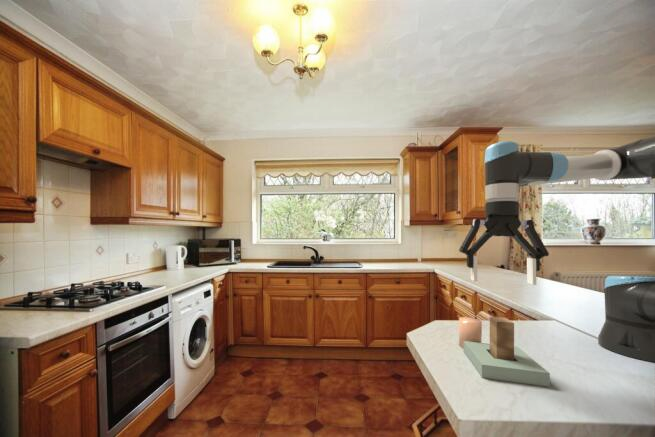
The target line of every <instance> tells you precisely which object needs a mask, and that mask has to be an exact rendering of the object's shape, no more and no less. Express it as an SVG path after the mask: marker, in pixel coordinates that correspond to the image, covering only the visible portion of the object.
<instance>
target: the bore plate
mask: <svg viewBox="0 0 655 437" xmlns="http://www.w3.org/2000/svg"><path fill="white" fill-rule="evenodd" d="M463 353H464V355H465V356H466V358H468V361H469V362H470V363H471V364H472V366H473V367H474V369H475V370H476V372H477V373H478V374H479V375H480V377H481V378H483V379H490V380H496V381H503V382H504V381H505V382H512V383H518V384H527V385H535V386H542V387H549V388H550V387H551V382H550V381H551V378H550V377H551V373H550V372H549V371H548V370H547V369H545V368H544V367H543V366H542V365H541V364H540V363H538V362H537V361H536V360H535V359H534V358H532V357H531V356H529V355H528V354H527V353H526V352H525V351H524V350H522V349H521V348H520V347H518V346H514V361H510V360H502V359H494V358H493V357H492V356H491V354H490V343H483V342H482V343H477V342H468V341H464V349H463Z"/></svg>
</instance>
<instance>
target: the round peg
mask: <svg viewBox="0 0 655 437" xmlns="http://www.w3.org/2000/svg"><path fill="white" fill-rule="evenodd" d="M482 322H483V321H482V320H479V319H478V318H474V317H468V316H461V317H459V318H458V325H459V326H458V346H459V347H460V348H461V349H462V350H464V341H468V342H477V343H483V342H482V341H483V338H482V336H483V332H482V330H483V327H482V326H483V323H482Z"/></svg>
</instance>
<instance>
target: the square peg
mask: <svg viewBox="0 0 655 437" xmlns="http://www.w3.org/2000/svg"><path fill="white" fill-rule="evenodd" d="M489 344H490V354H491V356H492V357H493V358H494V359H502V360H510V361H514V347H515V323H514V322H513V321H512V320H510V319H508V318H507V317H499V316H489Z"/></svg>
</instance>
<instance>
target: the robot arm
mask: <svg viewBox="0 0 655 437" xmlns="http://www.w3.org/2000/svg"><path fill="white" fill-rule="evenodd" d="M483 164H484V188H485V190H484V195H485V196H484V198H485V201H486V203H484V213H485V214H484V216H485V217H484V219H479V218H475V219H474V218H473V219H472V222H471V227H470V230H469V231H468V233H467V235H466V236H465V238H464V240H463V242H462V243H461V245H460V247H459V250H458V251H459V252H460V253H462V254H464V255H466V267H467V268H470V280H471V281H473V282H478V256H477V255H475V254H476V253H477V252H478V251H479V250H480V249H481V248H482V247H483V246H484V245H485V244H486V243H487V242H488V240H490V239H491V238H492V237H509V238H510V237H511V238H512V239H514V241H515V242H516V243H517V244H518V245H519V246H520V247H521V248H522V249H523V250H524V252H526V254H528V255H529V257H526V283H527V284H530V285H535V286H537V272H540V270H541V266H540V265H541V264H540V263H541V261H540V260H542V259H543V258H544V257H548V256H550V254H549V251H548V250H547V248H546V246H545V244H544V242H543V241H542V238H541V237H540V235H539V234H538V232H537V230H536V229H535V223H534V222H535V221H534V220H533V219H525V220H520V218H519V217H520V203H519V201H518V200H519V199H520V188H522V187H523V188H524V187H529V186H538V185H546V184H547V185H548V184H557V183H563V182H572V181H573V182H574V181H580V180H581V181H582V180H590V179H596V180H598V181H610V180H625V179H626V180H629V179H630V180H631V179H646V178H650V180H651V182H652V183H654V184H655V135H652V136H649V137H645V138H642V139H638V140H636V141H632V142H630V143H629V142H628V143H627V144H622V145H620V146H617V147H613V148H609V149H602V150H599V151H596V152H595V153H594V154H585V155H577V156H568V157H567V156H566V155H565V154H563V153H561V152H560V153H559V152H552V151H546V152H544V151H542V152H540V151H539V152H538V151H521V150H520V148H519V144H518V143H517V142H515V141H512V140H511V141H509V140H508V141H499V142H496V143H492V144H490V145H489V146H488V147H487V148H486V149H485V153H484V163H483ZM483 226H484V227H485V228H486V230H485V231H484V232H483V233H482V235H481V236H479V238H478V239H477V240H475V242H474V243H473V240H474V239H475V237H476V236H477V234H478V232H479V230H480V228H483ZM520 227H521V228H522V229H523V230H524V231H525V232H524V233H525V234H526V236H527V238H528V239H529V241H530V242H531V243H530V242H529V241H528V240H527V239H526V238H525V237H524V236H523V234H522V233H521V232H520V231H519V230H518V229H519V228H520ZM472 243H473V244H472ZM471 244H472V245H471ZM603 289H604V293H603V294H604V312H605V316H604V317H605V322H604V323H603V325H602V327H601V330H600V332H599V334H598V336H597V343H598V345H600V346H601V347H602V348H604V349H606V350H608V351H611V352H614V353H616V354H620V355H623V356H625V357H630V358H634V359H637V360H643V361H647V362H651V363H652V362H653V363H655V276H632V275H631V276H630V275H627V276H626V275H608V276H607V277H606V278H605V280H604V286H603Z"/></svg>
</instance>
